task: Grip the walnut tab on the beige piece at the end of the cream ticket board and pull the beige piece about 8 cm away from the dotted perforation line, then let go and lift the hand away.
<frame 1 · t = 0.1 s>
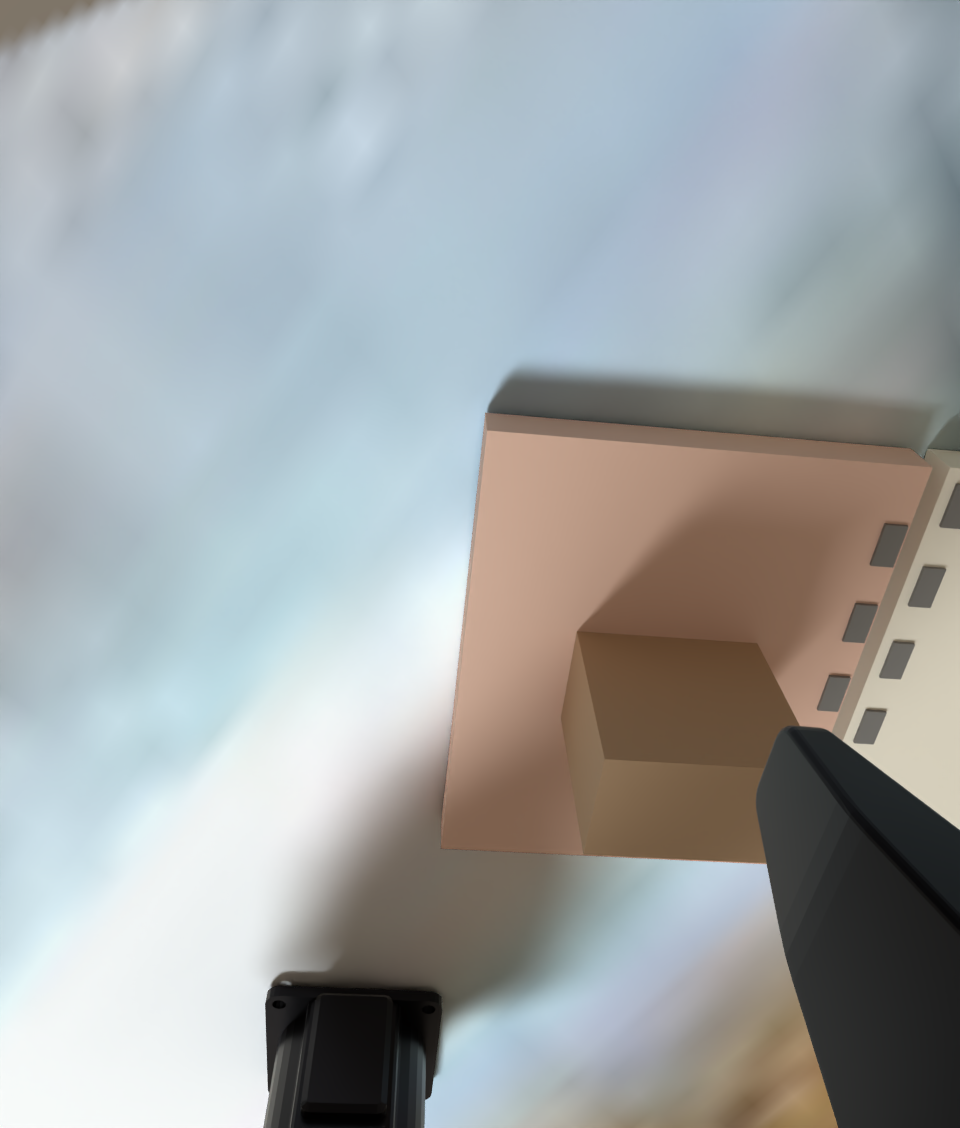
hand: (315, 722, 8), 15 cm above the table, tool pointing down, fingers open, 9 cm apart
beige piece: (671, 726, 23), point 3 cm above the table, slide at 0.0 cm
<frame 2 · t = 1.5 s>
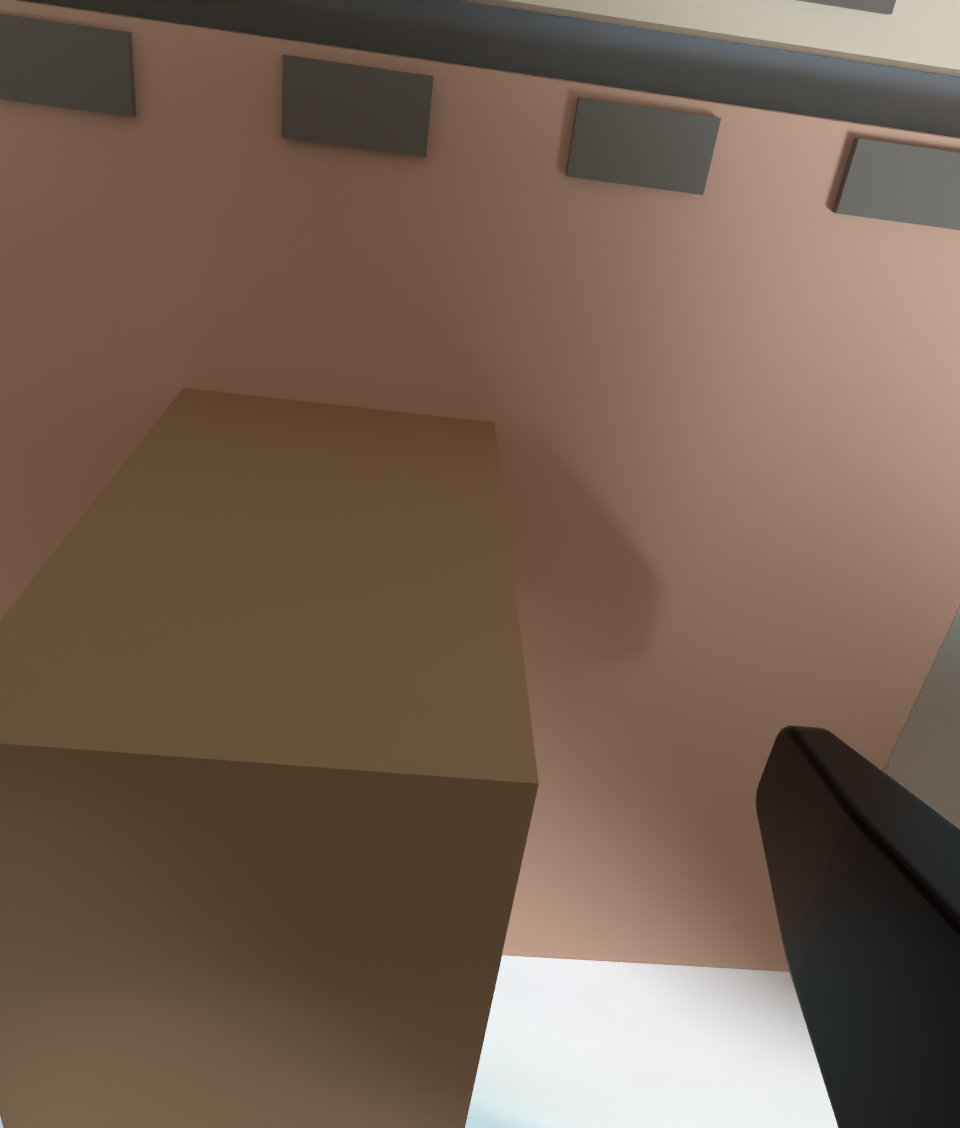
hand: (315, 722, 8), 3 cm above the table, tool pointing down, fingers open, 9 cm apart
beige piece: (306, 733, 8), point 3 cm above the table, slide at 0.0 cm
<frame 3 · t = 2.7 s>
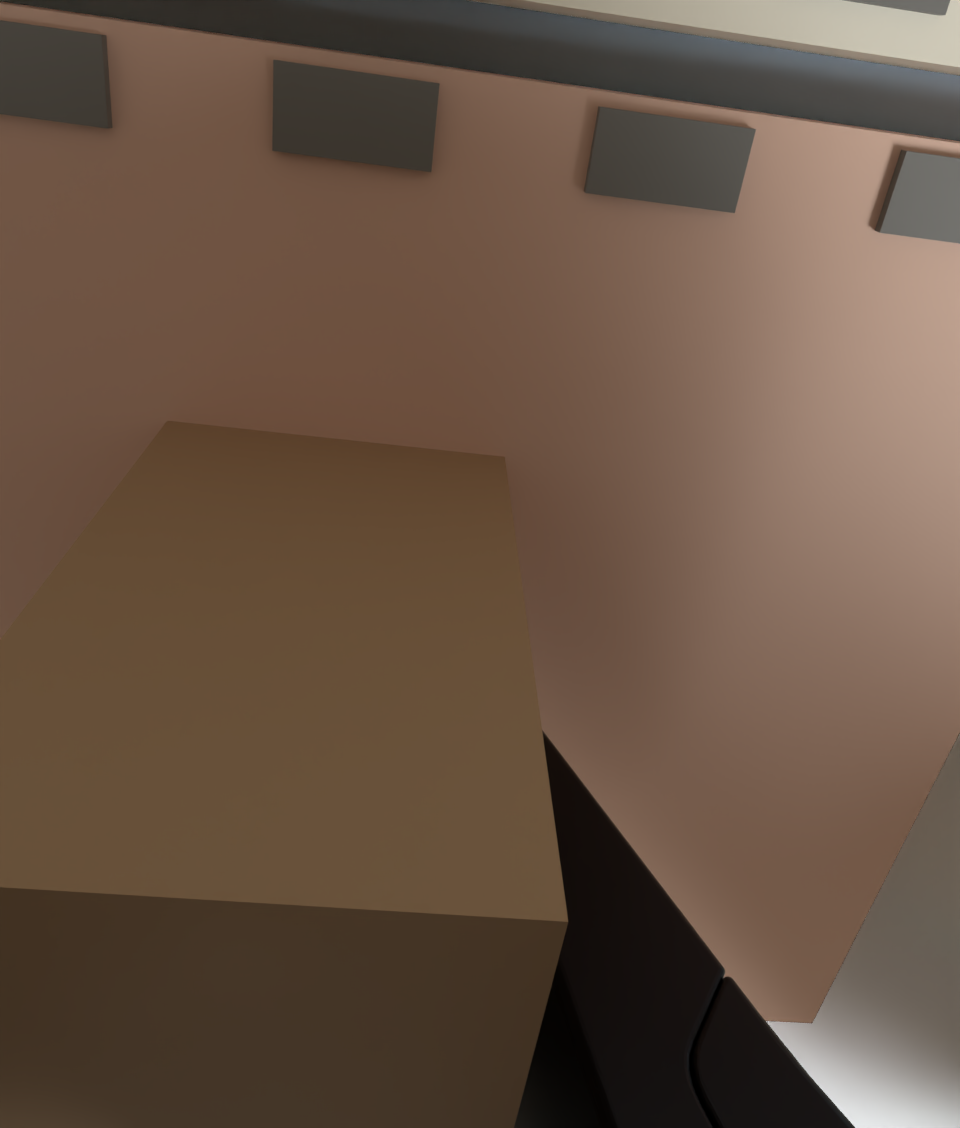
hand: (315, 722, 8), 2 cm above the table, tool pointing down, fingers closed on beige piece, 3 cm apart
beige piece: (300, 798, 8), point 3 cm above the table, slide at 0.0 cm, touching gripper
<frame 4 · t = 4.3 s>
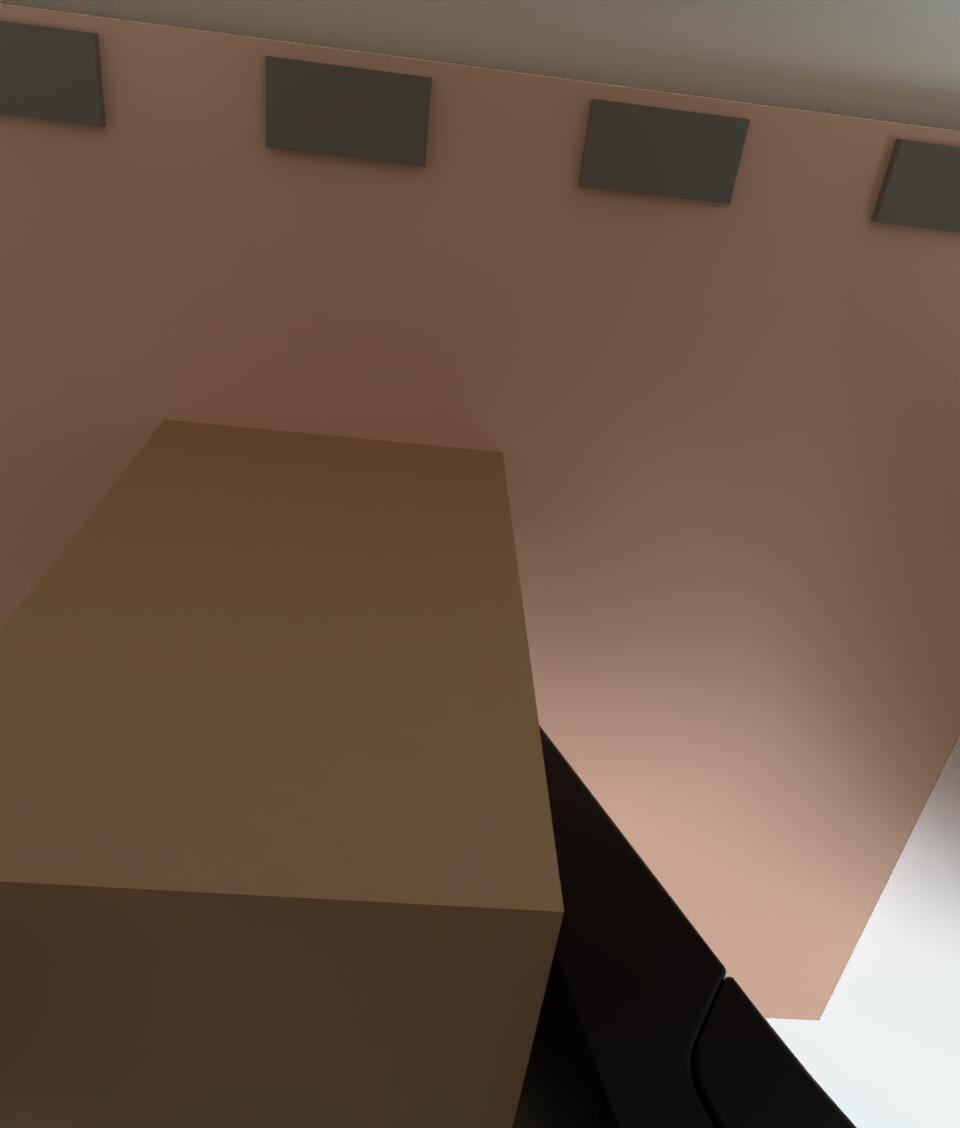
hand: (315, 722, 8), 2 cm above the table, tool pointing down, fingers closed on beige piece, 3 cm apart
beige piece: (300, 795, 8), point 3 cm above the table, slide at 5.1 cm, touching gripper
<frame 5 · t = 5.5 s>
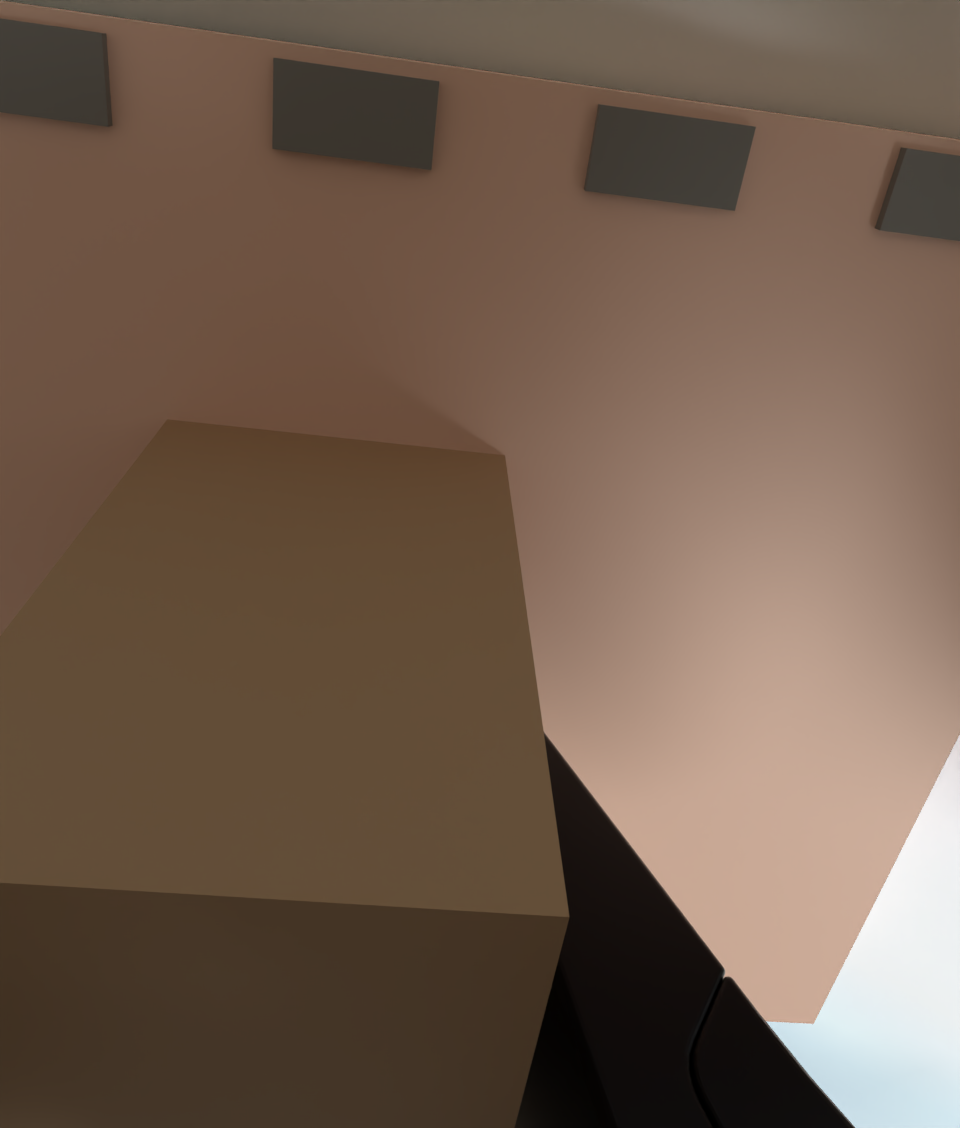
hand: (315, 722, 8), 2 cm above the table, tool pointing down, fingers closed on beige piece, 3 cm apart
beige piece: (300, 797, 8), point 3 cm above the table, slide at 7.9 cm, touching gripper
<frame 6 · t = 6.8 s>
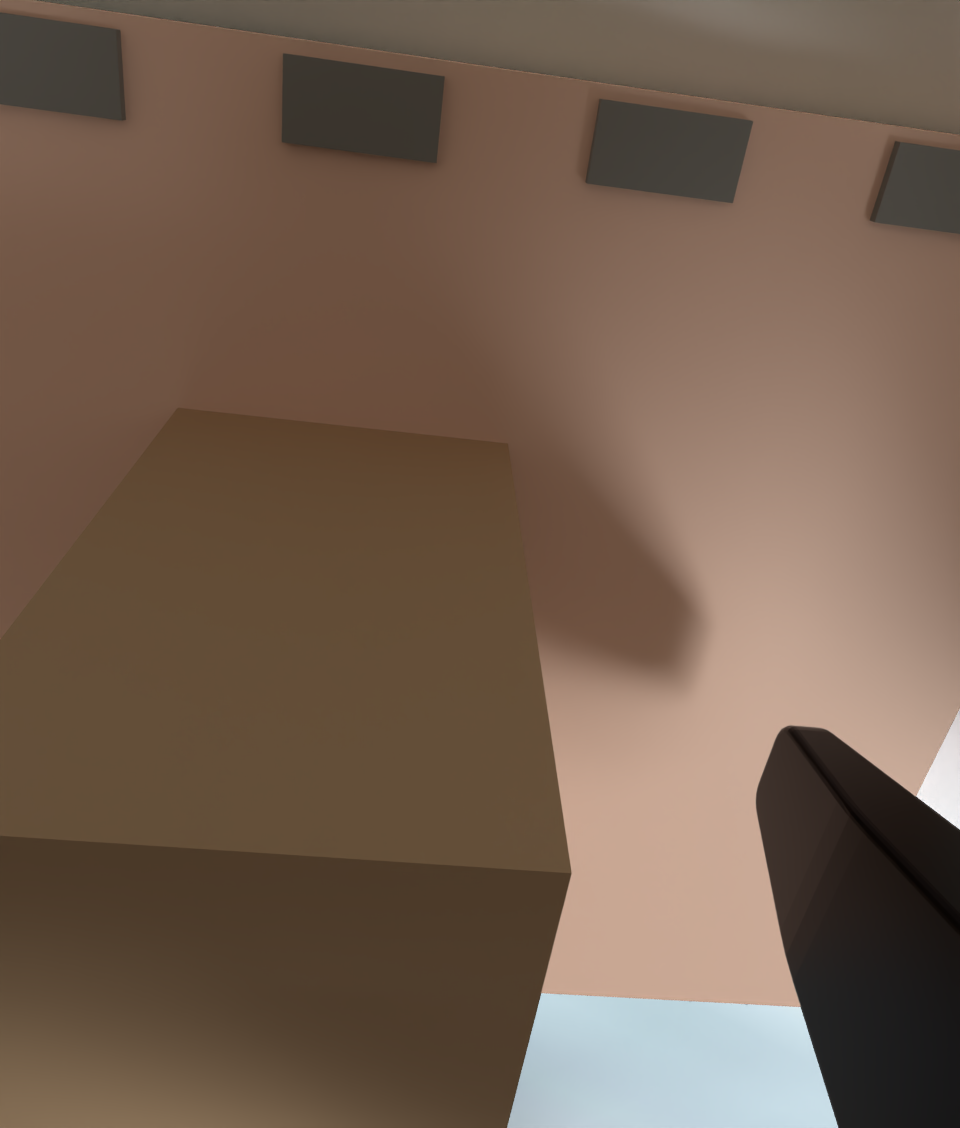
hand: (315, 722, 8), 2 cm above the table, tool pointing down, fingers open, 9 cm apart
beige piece: (308, 776, 8), point 3 cm above the table, slide at 7.9 cm
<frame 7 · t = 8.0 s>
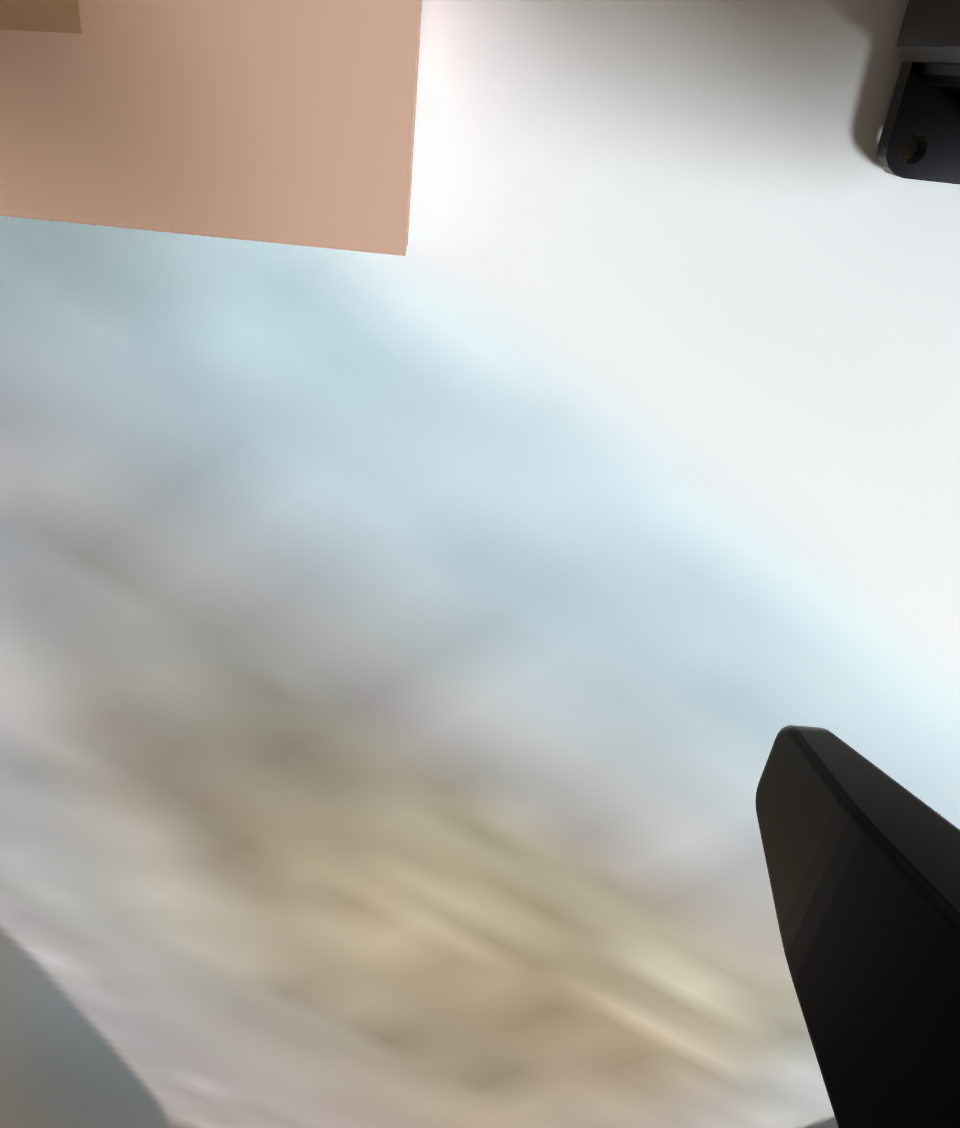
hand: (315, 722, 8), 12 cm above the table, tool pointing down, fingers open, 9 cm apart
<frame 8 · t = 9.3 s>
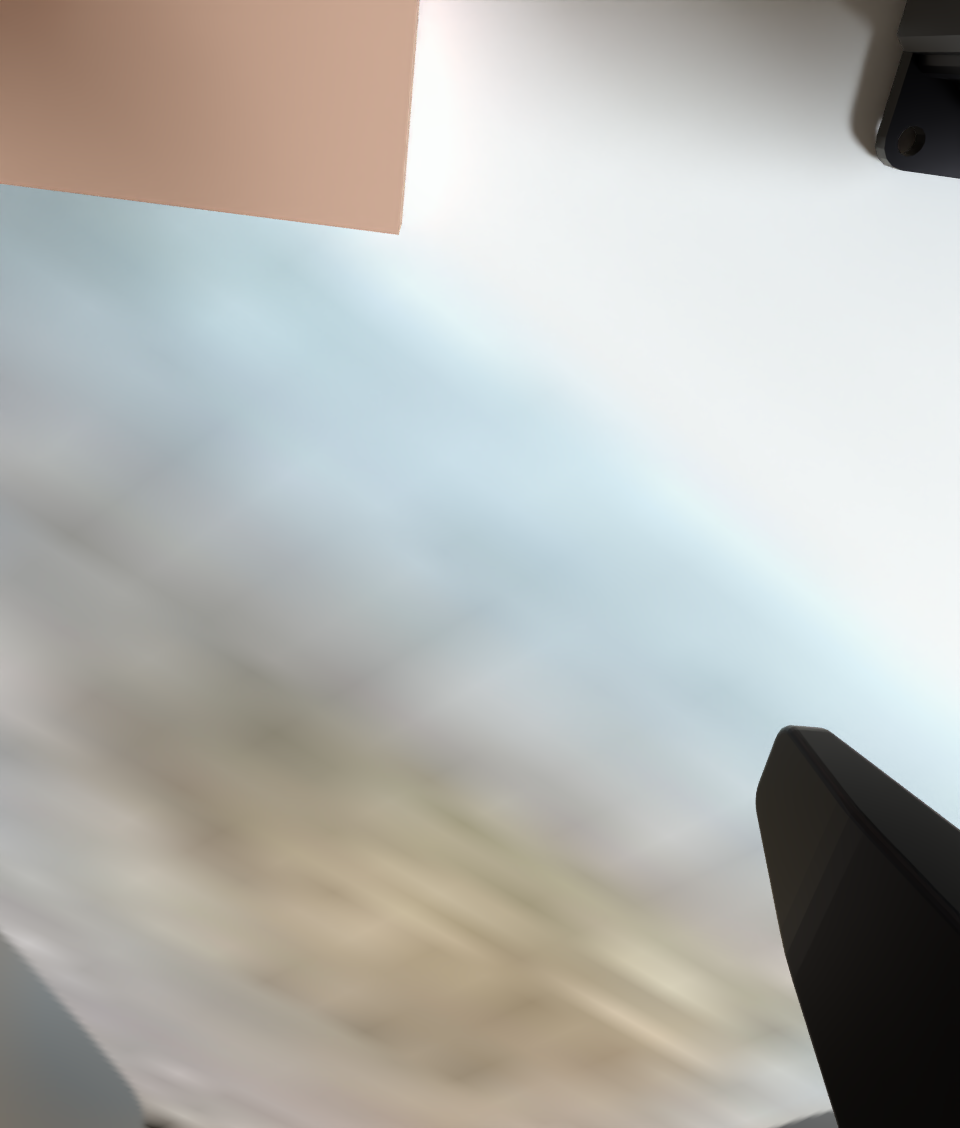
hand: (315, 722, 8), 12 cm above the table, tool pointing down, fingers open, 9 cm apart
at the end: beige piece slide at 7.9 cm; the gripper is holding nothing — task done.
